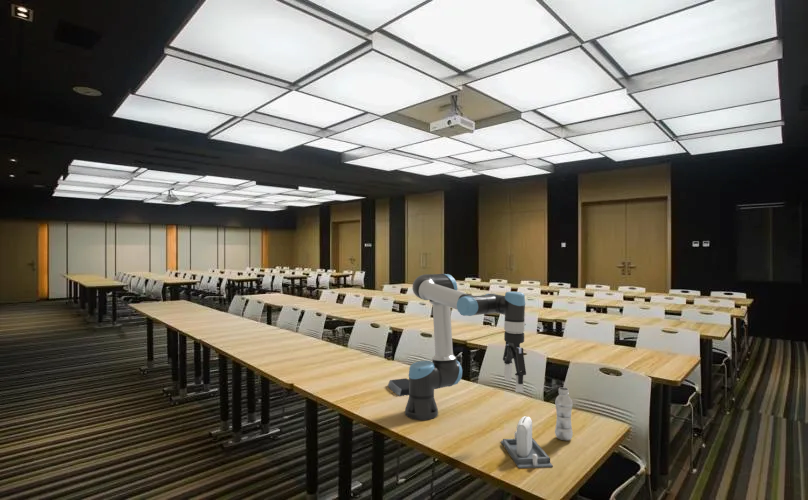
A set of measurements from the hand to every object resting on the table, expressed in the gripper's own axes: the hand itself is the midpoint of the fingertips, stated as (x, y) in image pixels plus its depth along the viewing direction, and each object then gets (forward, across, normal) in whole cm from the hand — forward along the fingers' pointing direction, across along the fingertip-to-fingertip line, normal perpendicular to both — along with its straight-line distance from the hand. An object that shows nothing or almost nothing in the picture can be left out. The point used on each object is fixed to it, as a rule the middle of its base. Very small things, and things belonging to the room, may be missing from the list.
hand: (513, 385), depth 160 cm
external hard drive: (+26, +68, +39) cm, 82 cm away
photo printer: (+22, -8, -2) cm, 23 cm away
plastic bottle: (+23, +3, -22) cm, 32 cm away
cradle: (+22, -8, -2) cm, 24 cm away
